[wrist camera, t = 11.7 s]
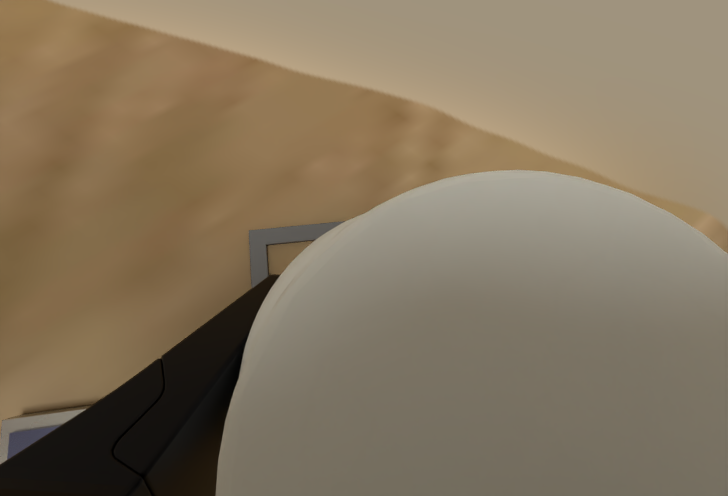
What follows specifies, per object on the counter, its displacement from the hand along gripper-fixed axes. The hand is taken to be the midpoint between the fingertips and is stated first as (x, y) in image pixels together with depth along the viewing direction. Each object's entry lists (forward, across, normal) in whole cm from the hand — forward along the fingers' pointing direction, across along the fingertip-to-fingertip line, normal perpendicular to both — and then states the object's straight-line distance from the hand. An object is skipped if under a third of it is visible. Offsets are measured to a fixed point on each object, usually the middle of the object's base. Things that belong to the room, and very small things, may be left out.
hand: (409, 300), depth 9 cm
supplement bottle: (+4, 0, +6) cm, 7 cm away
